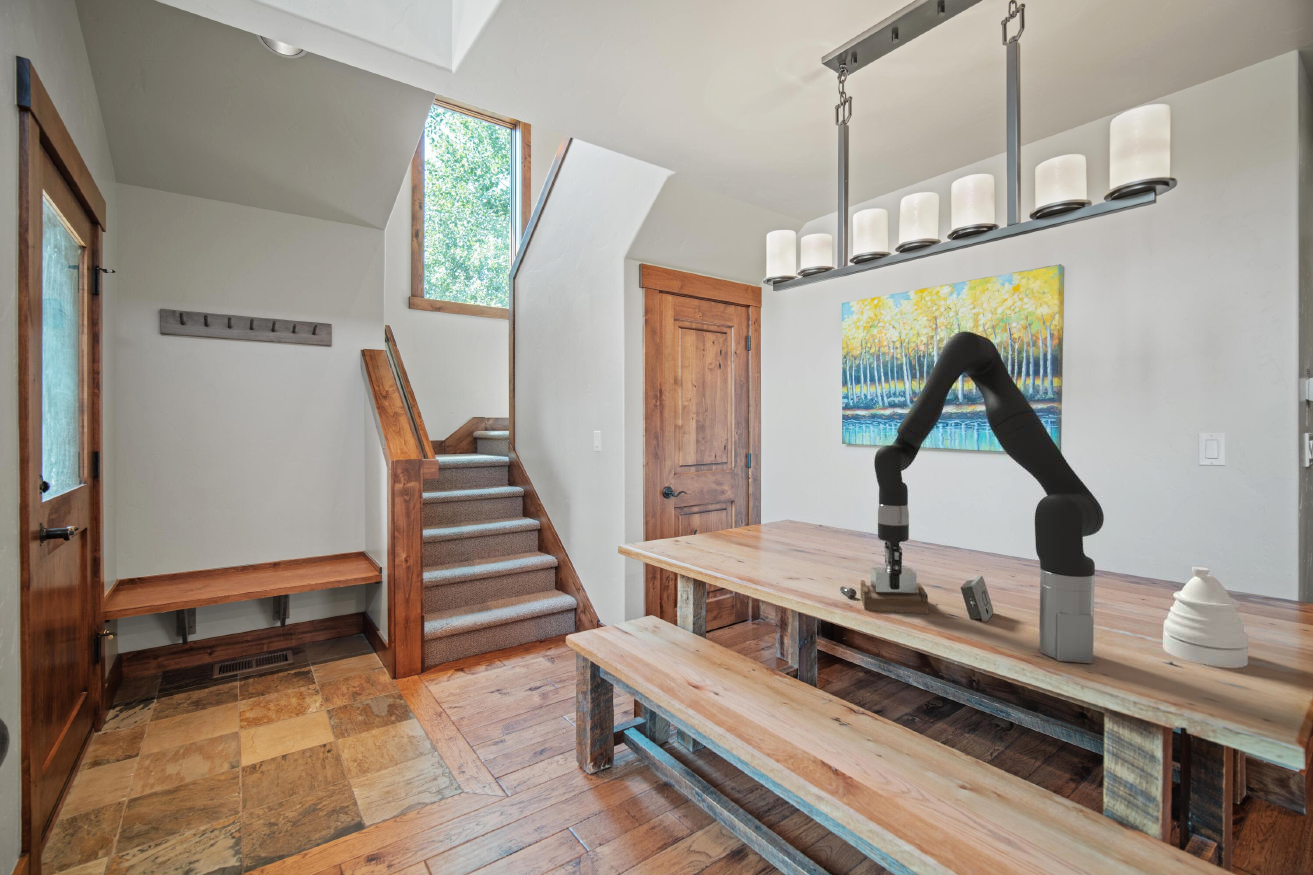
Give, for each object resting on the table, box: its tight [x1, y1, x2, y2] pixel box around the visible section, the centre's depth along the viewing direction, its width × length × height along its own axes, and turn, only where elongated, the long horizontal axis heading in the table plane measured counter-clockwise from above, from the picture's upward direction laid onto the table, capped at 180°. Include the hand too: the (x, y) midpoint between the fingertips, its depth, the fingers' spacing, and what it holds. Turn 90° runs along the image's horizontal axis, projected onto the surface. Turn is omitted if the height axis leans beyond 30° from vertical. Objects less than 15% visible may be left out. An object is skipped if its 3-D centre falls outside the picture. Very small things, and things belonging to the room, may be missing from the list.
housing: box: [870, 566, 917, 593], centre depth 157 cm, size 6×10×6 cm, turn 84°
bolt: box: [839, 585, 857, 599], centre depth 166 cm, size 6×3×3 cm, turn 6°
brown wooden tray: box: [860, 579, 929, 615], centre depth 157 cm, size 12×15×4 cm
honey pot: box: [1162, 566, 1249, 669], centre depth 123 cm, size 13×13×18 cm
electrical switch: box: [960, 575, 995, 623], centre depth 148 cm, size 9×5×9 cm, turn 141°
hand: (893, 585), depth 157 cm, fingers closed on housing, 5 cm apart
